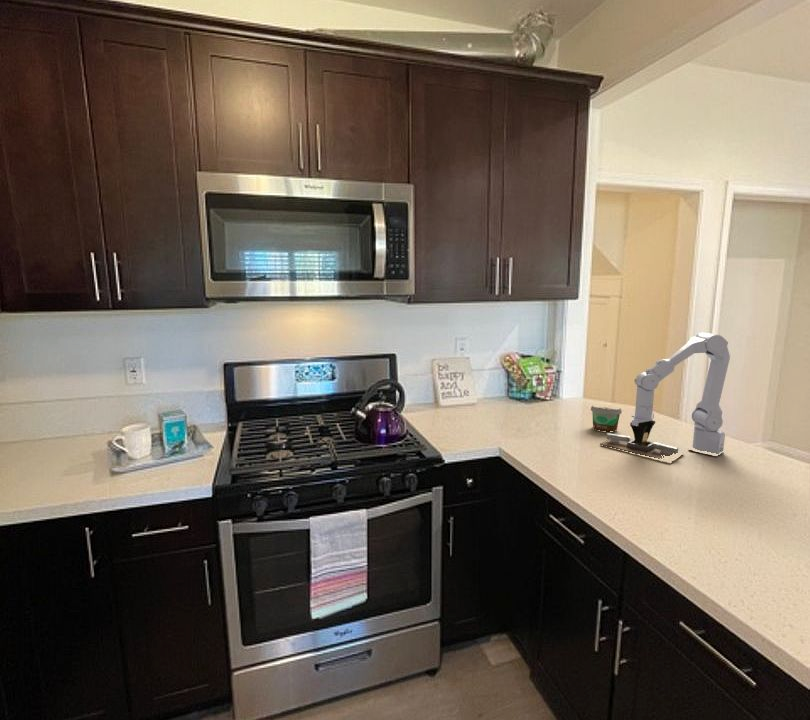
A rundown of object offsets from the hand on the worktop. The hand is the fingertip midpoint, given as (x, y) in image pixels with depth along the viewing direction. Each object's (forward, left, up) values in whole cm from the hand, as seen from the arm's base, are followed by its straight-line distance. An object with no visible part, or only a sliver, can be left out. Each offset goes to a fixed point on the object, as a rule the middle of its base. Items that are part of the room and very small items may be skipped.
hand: (641, 440), depth 176 cm
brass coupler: (0, 0, -3) cm, 3 cm away
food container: (+20, -12, -4) cm, 24 cm away
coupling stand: (0, 0, -4) cm, 4 cm away
